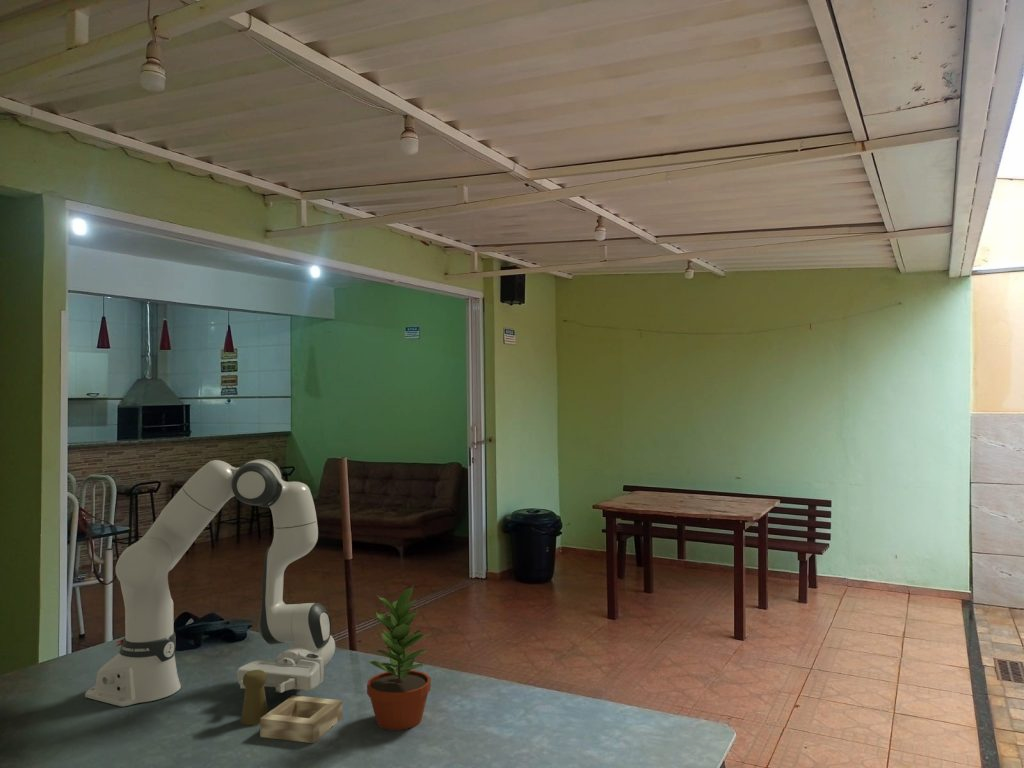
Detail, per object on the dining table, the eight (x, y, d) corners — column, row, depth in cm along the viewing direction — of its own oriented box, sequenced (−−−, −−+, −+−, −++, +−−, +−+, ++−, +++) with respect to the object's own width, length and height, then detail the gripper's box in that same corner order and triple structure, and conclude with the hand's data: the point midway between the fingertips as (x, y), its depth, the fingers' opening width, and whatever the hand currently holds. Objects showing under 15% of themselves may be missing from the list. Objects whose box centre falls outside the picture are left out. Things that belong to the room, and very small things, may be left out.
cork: (259, 726, 167) (259, 677, 167) (235, 724, 168) (235, 675, 168) (273, 715, 172) (273, 667, 173) (250, 713, 174) (249, 666, 174)
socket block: (260, 736, 161) (260, 718, 161) (292, 712, 174) (292, 695, 174) (313, 743, 158) (313, 724, 158) (342, 717, 170) (342, 700, 170)
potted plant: (352, 730, 164) (351, 594, 165) (388, 703, 178) (387, 578, 179) (411, 740, 158) (410, 600, 159) (443, 712, 173) (442, 583, 173)
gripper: (256, 651, 189) (221, 670, 175) (328, 657, 183) (298, 677, 170) (256, 675, 188) (221, 696, 175) (328, 682, 183) (298, 705, 170)
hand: (260, 687), depth 172 cm, fingers open, 8 cm apart
